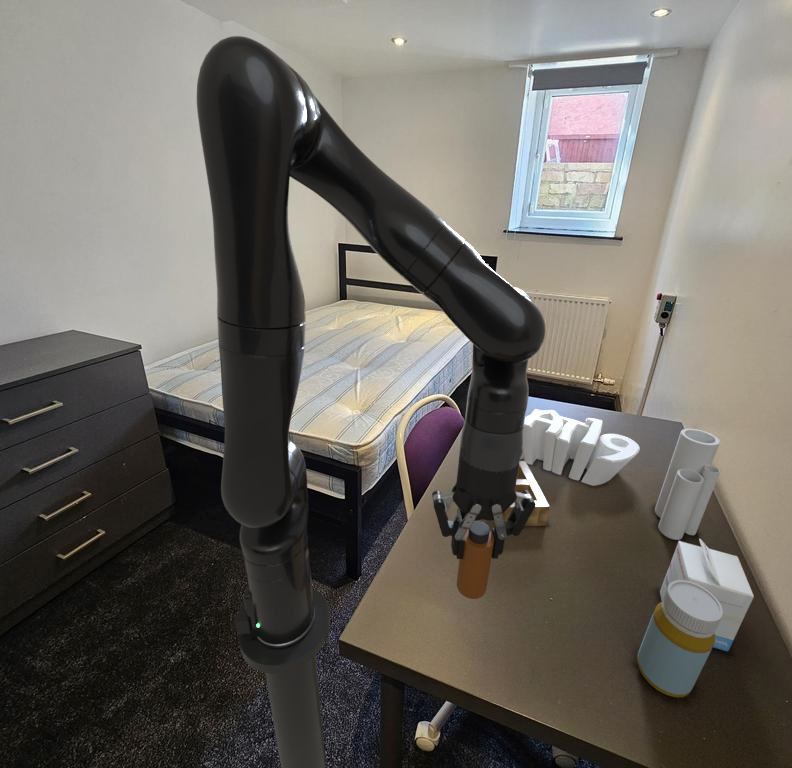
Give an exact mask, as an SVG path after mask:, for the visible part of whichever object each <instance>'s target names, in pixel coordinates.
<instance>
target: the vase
mask: <svg viewBox="0 0 792 768" xmlns="http://www.w3.org/2000/svg"><path fill="white" fill-rule="evenodd" d="M720 443H721V441H720V439H719V438H718V437H717V436H716V435H714V434H712V433H710V432H708V431H705V430H701V429H697V428H683V429H682V430H680V433H679V435H678V439H677V441H676V444H675V448H674V450H673V453H672V456H671V460H670V462H669V466H668V469H667V472H666V475H665V477H664V481H663V484H662V486H661V490H660V493H659V496H658V498H657V502H656V504H655V508H654V513H655V514H656V516H657V517H658V518H660V519H659V523H658V530H659V532H660V533H661V534H662V535H663V536H664V537H666V538H668V539H670V540H675V541H676V540H677V541H681V540H682V539H683V537H684V534H687V535H688V536H695V535H696V534H697V532H698V529H699V527H700V524H701V521H702V519H703V517H704V514H705V511H706V509H707V507H708V504H709V502H710V499H711V497H712V494H713V492H714V489H715V487H716V484H717V481H718V479H719V477H720V473H721V469H720V468H718V466H716V465H713V462H714V459H715V456H716V454H717V452H718V449H719V446H720Z"/></svg>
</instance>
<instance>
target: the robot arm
mask: <svg viewBox="0 0 792 768" xmlns="http://www.w3.org/2000/svg"><path fill="white" fill-rule="evenodd" d="M196 111H197V120H198V127H199V134H200V141H201V147H202V153H203V154H202V155H203V161H204V167H205V173H206V179H207V184H208V185H207V187H208V191H209V198H210V206H211V214H212V216H211V217H212V228H213V250H214V251H213V252H214V265H215V280H216V282H215V283H216V320H217V321H216V322H217V340H218V353H219V354H218V355H219V363H220V364H219V365H220V377H221V378H220V379H221V380H220V381H221V397H222V398H221V399H222V409H223V420H224V421H223V422H224V439H223V440H224V441H223V443H224V444H223V456H222V457H223V458H222V468H221V477H220V478H221V479H220V480H221V481H220V496H221V501H222V504H223V506H224V508H225V510H226V512H227V513H228V514H229V516H230V517H231V518H232V519H234V521H236V522H237V523H238V524H240V529H239V533H238V534H239V535H238V537H239V546H240V552H241V556H242V562H243V568H244V573H245V579H246V580H245V581H246V585H247V586H246V588H245V591H244V594H243V598H242V601H241V604H240V607H239V609H238V613H237V614H236V616H235V617H234V619H233V622H232V626H233V628H234V629H235V630H236V632H237V635H238V634H250V636H251V640H257V641H259V642H260V644H262V645H263V646H265V647H267V648H270V649H285V648H289V647H291V646H293V645H295V644H297V643H299V642H300V641H301V640H303V639H304V638H305V637H306V636H307V635H308V633H309V632H310V630H311V629H312V627H313V624H314V620H315V610H314V603H313V593H312V588H313V584H312V573H311V564H310V563H311V562H310V551H309V550H310V549H309V539H308V520H309V492H308V491H309V490H308V474H307V464H306V460H305V457H304V454H303V453H302V451H301V449H300V448H299V447H298V446H297V444H296V443H295V442H293V441H292V440H291V439H289V438H290V437H289V436H290V435H289V434H290V428H291V422H292V421H291V420H292V417H293V412H294V408H295V404H296V400H297V397H298V390H299V386H300V382H301V376H302V370H303V364H304V358H305V357H304V356H305V349H306V346H305V344H306V321H307V320H306V317H307V313H306V300H305V299H306V298H305V294H304V293H305V292H304V288H303V287H304V286H303V284H302V280H301V276H300V275H301V274H300V272H299V268H298V266H297V265H298V264H297V261H296V257H295V253H294V249H293V245H292V241H291V235H290V228H289V227H290V226H289V198H290V197H289V195H290V178H291V179H293V180H295V181H296V182H298V183H299V184H301V185H303V187H306V188H307V189H309V190H310V191H312V192H313V193H314V194H316V195H318V196H319V197H320V198H322V200H324V201H325V202H326V203H328V204H329V205H330V206H331V207H332V208H333V209H335V210H336V211H337V212H338V213H339V214H340V215H341V216H342V217H343V218H344V219H345V220H346V221H347V222H348V223H349V224H350V225H351V226H352V227H353V228H354V230H355V231H356V232H357V233H358V234H359V235H360V237H361V238H363V240H364V241H365V242H366V244H367V245H369V247H370V248H371V249H372V250H373V251H374V252H375V253H376V254H377V256H379V257H380V258H381V260H382V261H383V262H384V263H386V264H387V266H389V267H390V268H391V269H392V270H393V271H394V272H396V273H397V274H398V275H399V276H400V277H402V279H403V280H405V282H406V283H408V284H409V285H410V286H412V287H413V288H414V289H415V290H417V292H419V293H420V294H422V295H423V296H424V297H425V298H427V300H429V301H430V302H432V303H433V304H435V305H436V306H437V307H438V308H439V309H440V310H441V311H442V312H443V314H445V316H446V317H447V318H448V319H449V320H450V321H451V323H453V325H455V326H456V328H457V329H458V330H459V331H460V332H461V333H462V334H463V335H464V336H465V337H466V338H467V339H468V341H470V343H472V356H471V357H472V360H471V363H472V365H471V367H472V369H471V376H470V381H469V385H468V390H467V397H466V408H465V416H464V422H463V426H462V430H461V436H460V445H459V455H458V462H457V463H458V464H457V474H456V482H455V484H454V486H453V487H452V489H451V491H447V492H444V493H443V492H441V491H440V490H433V492H432V493H431V496H432V501H433V502H432V503H433V508H434V512H435V515H436V519H437V523H438V526H439V529H440V532H441V533H440V534H441V535H442V537H444V538H449V537H451V543H450V546H451V552H452V555H453V556H456V557H455V558H456V559H457V560H460V559H462V558H463V550H464V541H465V540H464V535H465V533H466V532H467V530H468V529H470V528H471V526H472V524H473V522H476V521H481V520H484V521H491V522H493V523H492V524H493V526H494V527H493V528H491V533H492V534H493V536H494V546H493V552H492V558H491V560H493V559H496V560H497V559H499V556H501V555H502V554H503V553H504V548H505V547H504V546H505V541H506V539H507V537H508V536H511V535H512V536H514V537H518V536H520V535H521V533H522V531H523V530H524V527H526V526H525V524H526V522H527V521H528V519H529V517H530V515H531V513H532V512H533V510H534V508H535V506H536V504H535V502H534V500H533V498H532V496H531V494H530V492H529V491H528V490H525V491H523V492H522V493H519V492H515V486H516V481H517V475H518V469H519V463H520V461H521V459H520V458H521V455H522V451H523V449H522V446H523V428H524V422H525V417H527V410H528V404H529V395H530V394H529V393H530V392H529V391H530V390H529V382H528V376H527V375H528V374H527V371H528V369H527V368H528V363H529V360H530V359H531V358H533V357H534V356H535V355H536V354H538V352H539V351H540V350H541V348H542V346H543V345H544V341H545V337H546V321H545V318H544V314H543V313H542V311H541V310H540V308H539V307H538V306H537V304H536V303H535V302H534V300H533V299H532V297H530V296H529V295H528V294H527V293H526V292H525V291H523V290H522V289H520V288H518V287H514V286H513V285H511V284H510V283H509V282H508V281H507V280H505V278H503V277H502V276H501V275H499V274H498V273H497V272H496V271H495V270H493V269H492V268H491V267H490V266H488V264H486V263H485V261H484V259H482V256H480V254H479V253H478V252H477V250H475V249H474V247H473V246H472V245H471V244H470V243H469V242H468V241H467V240H465V238H463V237H462V236H461V235H460V234H459V233H458V232H457V231H456V230H454V229H453V228H452V227H451V226H450V225H449V224H448V223H447V222H446V221H444V220H443V219H442V218H441V217H440V216H439V215H437V214H436V213H435V212H434V211H433V210H431V209H430V208H429V206H427V205H425V204H424V203H423V202H422V201H421V200H419V198H417V197H415V196H414V194H412V193H410V192H409V191H408V190H407V189H406V188H405V187H403V186H402V185H401V184H399V182H397V181H395V179H393V178H392V177H391V176H389V175H388V174H387V173H386V172H385V171H383V169H381V168H380V167H379V166H378V165H377V164H375V162H373V161H372V160H371V159H370V158H369V157H368V156H367V155H366V153H364V152H363V151H362V150H361V149H360V148H359V147H358V146H357V145H356V144H355V142H353V140H351V139H350V138H349V136H348V135H347V134H346V133H345V131H344V130H343V129H342V128H341V127H340V125H339V124H338V123H337V121H335V120H334V118H333V117H332V116H331V114H330V113H329V111H327V109H326V108H325V107H324V106H323V104H322V103H321V102H320V100H319V99H318V98H317V97H316V95H315V94H314V93H313V91H312V89H311V88H310V86H309V84H308V83H307V81H306V80H305V79H304V78H303V77H302V76H301V74H299V72H298V71H296V70H295V69H294V67H293V68H292V66H290V65H289V64H288V63H287V62H286V61H285V60H284V59H283V58H281V57H280V56H279V55H278V54H277V53H275V52H274V51H273V50H271V48H268V47H267V46H266V45H264V44H262V43H261V42H259V41H257V40H255V39H252V38H250V37H247V36H241V35H232V36H228V37H224V38H222V39H220V40H219V41H218V42H216V43H214V45H212V47H211V48H210V49H209V51H208V52H207V53H206V55H205V56H204V58H203V61H202V63H201V65H200V68H199V72H198V77H197V82H196ZM452 503H454V504H455V505H456V506H457V509H456V515H455V517H454V519H453V520H452V521H451V520H449V517H448V513H447V512H449V510H450V508H451V504H452ZM513 503H515V506H514V508H513V510H512V512H511V514H510V515H509V517H508V519H507V521H505V522H504V519H503V513H504V512H505V511H506V510H507V509H508V508H509V507H510V506H511V505H512V504H513Z"/></svg>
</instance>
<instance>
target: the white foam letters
mask: <svg viewBox="0 0 792 768" xmlns="http://www.w3.org/2000/svg"><path fill="white" fill-rule="evenodd" d="M602 427H603V420H602V419H599V418H593V417H587V418H586V419H585V421H584V422H583V421H580V420H576V419H574V418H569V417H566V416H562V415H560V414H559V413H558V412H557V411H556V410H554V409H538V408H534V410H533V411H532V412H531V413H530V414H529V415H526V416H525V422H524V428H523V446H522V449H523V451H522V455H521V458H520V460H523V461H526V463H527V465H530V466H533V465H534V462H535V461H536V460H539V461H543V463H542V469H543V470H545V471H548V472H552V473H553V474H556V475H559V476H562V473H563V469H564V467H565V465H566V464H567V462H568V461H569V460H573V463H572V466H571V468H570V471H569V474H568V478H569V479H571V480H575V481H580V482H581V483H583V484H586V485H589V486H593V487H595V486H600V485H603V484H606V483H608V482H609V481H610V480H612V479H613V478H614V477H615V476H616V475H617V474H618V473H619V472H620V471H621V470H622V469H623V468H624V467H626V465H628V463H629V462H631V460H633V459H634V458H635V457H636V455H637V454H639V452H640V446H639V444H638V443H637V442H636V441H635V440H633V439H631V438H630V437H627V436H624V435H622V434H618V433H605V434H602V435H601V432H602ZM585 469H586V472H585V473H584V471H585ZM583 473H584V476H582V475H583ZM581 477H582V480H581Z"/></svg>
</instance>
